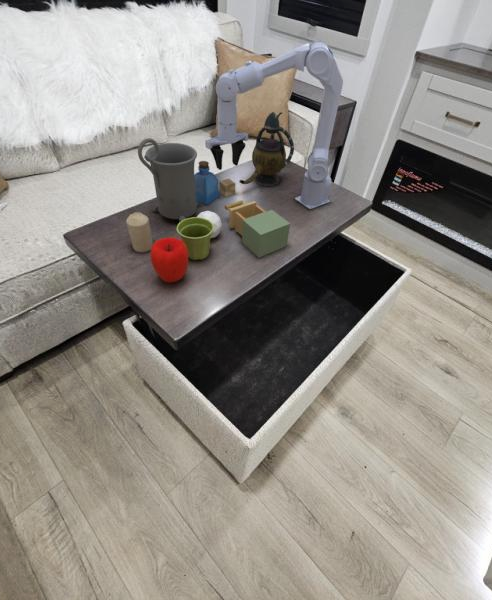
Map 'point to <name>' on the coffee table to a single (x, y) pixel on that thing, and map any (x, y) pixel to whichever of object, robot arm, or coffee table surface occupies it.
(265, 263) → the coffee table surface
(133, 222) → the candle
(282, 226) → the sage green box
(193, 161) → the mug
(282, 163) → the teapot
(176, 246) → the apple
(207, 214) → the geometric ball
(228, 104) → the robot arm
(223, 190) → the block
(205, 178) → the perfume bottle
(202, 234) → the plant pot
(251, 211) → the drawer
